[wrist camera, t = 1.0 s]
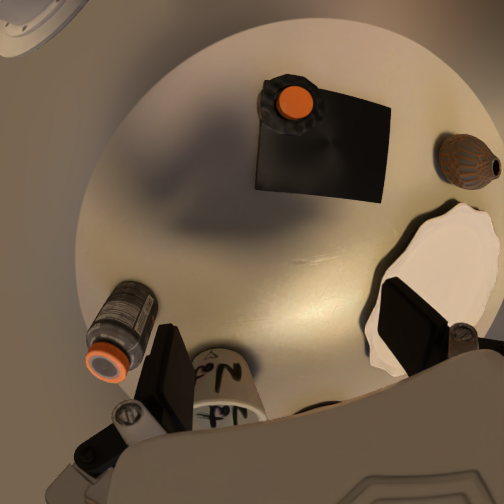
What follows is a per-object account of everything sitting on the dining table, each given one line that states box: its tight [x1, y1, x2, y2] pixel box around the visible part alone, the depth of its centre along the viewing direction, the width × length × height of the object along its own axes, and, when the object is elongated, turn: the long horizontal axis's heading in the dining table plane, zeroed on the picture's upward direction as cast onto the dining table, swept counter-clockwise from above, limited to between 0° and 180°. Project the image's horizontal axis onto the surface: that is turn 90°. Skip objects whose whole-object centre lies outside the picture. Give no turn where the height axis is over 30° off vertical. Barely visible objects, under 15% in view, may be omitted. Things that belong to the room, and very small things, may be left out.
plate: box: [364, 203, 500, 377], centre depth 33 cm, size 29×29×2 cm
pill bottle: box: [85, 282, 158, 383], centre depth 24 cm, size 6×6×11 cm
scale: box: [255, 74, 391, 203], centre depth 24 cm, size 11×14×2 cm
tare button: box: [276, 86, 313, 120], centre depth 21 cm, size 3×3×2 cm
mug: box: [192, 348, 268, 431], centre depth 30 cm, size 10×15×10 cm
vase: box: [439, 134, 501, 190], centre depth 23 cm, size 7×7×9 cm
